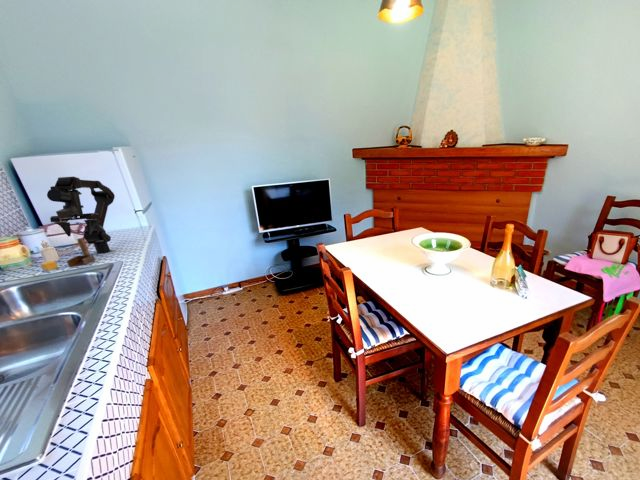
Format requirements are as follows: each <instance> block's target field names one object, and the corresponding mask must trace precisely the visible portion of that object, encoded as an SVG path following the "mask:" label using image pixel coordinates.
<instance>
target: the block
mask: <svg viewBox="0 0 640 480" xmlns="http://www.w3.org/2000/svg"><path fill="white" fill-rule="evenodd" d="M40 266H41V269H42V271H47V272H49V271H53V270H56V269H58V268H59V266H58V264H57V261H48V262H44V261H43V262H42V263H41V262H40Z"/></svg>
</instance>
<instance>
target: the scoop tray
mask: <svg viewBox="0 0 640 480" xmlns="http://www.w3.org/2000/svg"><path fill="white" fill-rule="evenodd" d="M76 240H77V243H78V245H79V248H80V251H81V253H82V255H76V256H73V257H72V258H70V259H67V260H66V263H67V265H68V267H69V268H73V267H81V266H87V265H89V264H91V263H92V262H94V261H96V259H95V257H94V254H91V253H90V251H89V249H88V246H87V244H86V240H85V238H84V237H80V238H77V239H76Z"/></svg>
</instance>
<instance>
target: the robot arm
mask: <svg viewBox="0 0 640 480" xmlns="http://www.w3.org/2000/svg"><path fill="white" fill-rule="evenodd" d="M78 189H89V190H90V194H91V196H92V197H93V199H94V201H95V202H96V205H95V208H94V211H93V212H88V213H84V212H83V208H84V205H82V203H81V198H80V195H82V192H80V191H79V190H78ZM95 189H99V190H97V191H96V190H95ZM46 197H47V199H48V200H49V201H51V202H56V203H63V204H64V205H62V209H59V210H57V211H55V213H56V215H51V216H50V218H49V221H50V223H54V224H55V225H58V226H59V227H60V228H61V229H62V230H63V232H64V233H65V234H66V236H67V237H71V234H72V232H71V222H69V221H77V220H83V222H84V223H85V224H86V225H85V226H84V229H83V239H84V241H85V242H86V243H87V244H88V245H92V244H93V246H94V250H95V251H96V254H99V255H100V254H107V253H110V252H111V248H110V246H109V244H108V243H109V242H111V240H112V238H111V237H112V236H110V235H109V234H108V233H106V229H105V228H104V224H105V220H106V216H107V213H108V208H109V206H110V205H112V204H113V203H114V201H115V197H116V196H115V193H114V191H113V190H112V189H110V187H108V186H107V185H104V184H103V183H102V182H101V181H100V180H88V179H80V177H76V176H62V177H61V176H60V177H58V178H57V180H56V182H55V184H54V186H53V185H52V186H50V189H49V190H48V191H47V194H46Z"/></svg>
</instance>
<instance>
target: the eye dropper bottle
mask: <svg viewBox="0 0 640 480" xmlns="http://www.w3.org/2000/svg"><path fill="white" fill-rule="evenodd" d="M40 245H41V248H40V249H39V250H38V251H39V254H40V256H41V259H42V260H43V263H44V262H48V261H55V262H58V261H60V260H61V258H60V257H59V254H58V253H57V250H56V248H55V247H54V246H50V245H49V242H47V241H45V240H44V239H42V240H41V242H40Z"/></svg>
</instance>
